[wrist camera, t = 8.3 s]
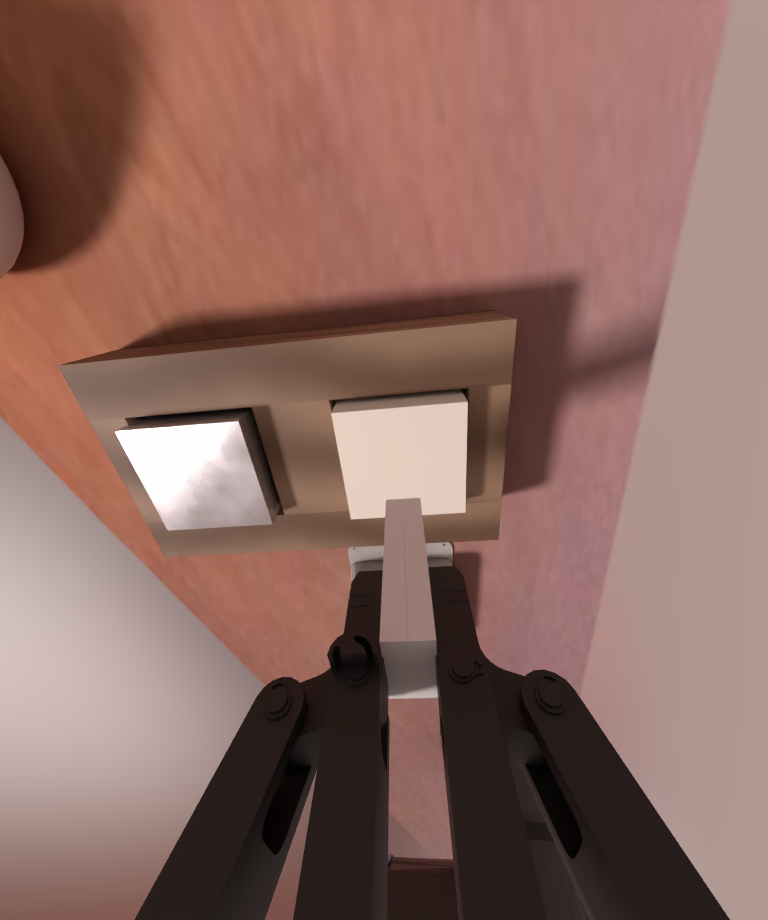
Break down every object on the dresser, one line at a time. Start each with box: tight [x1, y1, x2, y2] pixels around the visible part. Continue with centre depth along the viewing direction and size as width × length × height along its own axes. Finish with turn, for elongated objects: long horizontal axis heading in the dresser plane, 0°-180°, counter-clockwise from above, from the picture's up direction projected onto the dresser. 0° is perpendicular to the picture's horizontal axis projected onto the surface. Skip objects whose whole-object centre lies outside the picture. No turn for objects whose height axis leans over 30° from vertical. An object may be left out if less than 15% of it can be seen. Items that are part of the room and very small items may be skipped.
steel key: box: [115, 407, 282, 530], centre depth 21 cm, size 7×7×3 cm
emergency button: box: [348, 542, 453, 589], centre depth 31 cm, size 9×4×15 cm
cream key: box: [331, 389, 468, 519], centre depth 20 cm, size 7×7×3 cm
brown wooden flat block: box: [58, 310, 517, 557], centre depth 22 cm, size 14×24×4 cm, turn 96°
